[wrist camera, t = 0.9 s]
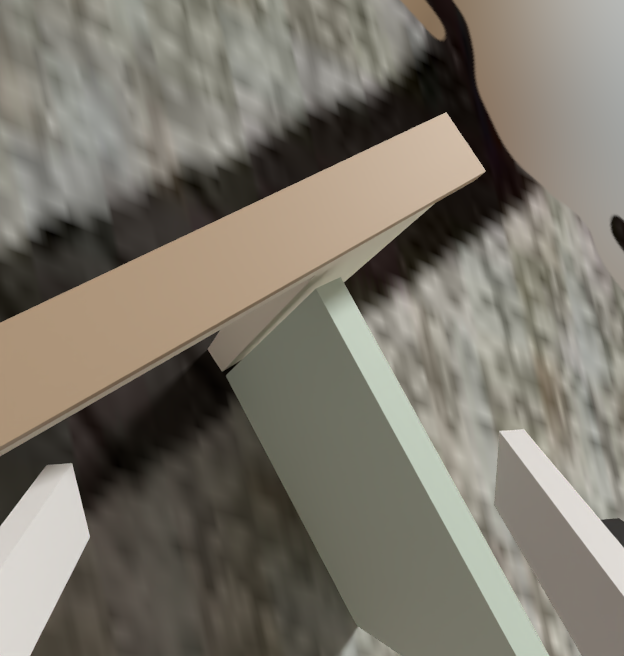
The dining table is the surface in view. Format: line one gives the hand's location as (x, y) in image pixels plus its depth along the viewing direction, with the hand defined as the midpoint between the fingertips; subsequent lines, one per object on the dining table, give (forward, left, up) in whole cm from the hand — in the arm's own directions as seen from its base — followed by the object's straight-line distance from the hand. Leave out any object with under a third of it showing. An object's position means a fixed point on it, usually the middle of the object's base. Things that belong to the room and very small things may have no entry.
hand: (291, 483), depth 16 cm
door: (+5, +6, -22) cm, 23 cm away
